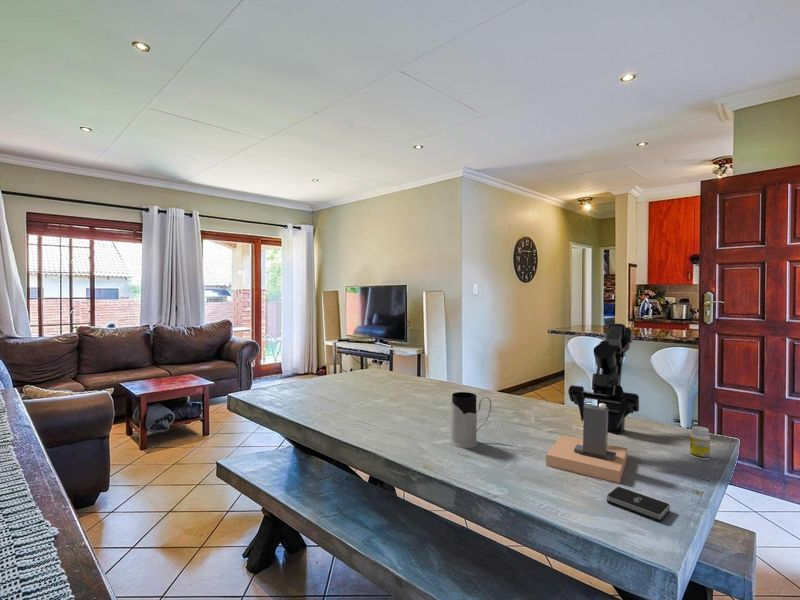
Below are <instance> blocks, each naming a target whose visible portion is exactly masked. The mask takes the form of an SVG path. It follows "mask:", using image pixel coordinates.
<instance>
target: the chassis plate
mask: <svg viewBox="0 0 800 600" xmlns="http://www.w3.org/2000/svg"><path fill="white" fill-rule="evenodd" d="M576 445H582V446H583V438H577V437H572V436H567V435H563V434H562V435H560V437H558V439H557V440H556V441H555V442H554V444H553V445H552V447H551V448H550V449H549V451H548V452H547V453H546V455H545V466H546V467H547V466H548V467H551V468H555V469H556V468H557V469H559V470H563V471H568V472H571V473H572V472H573V473H576V474H580V475H585V476H589V477H593V478H595V479H596V478H597V479H600V480H606V481H609V482H613V483H616V484H617V483H618V484H620V483H621V480H622V477H623V474H624V471H625V467H626V464H627V461H628V448H627V447H623V446H617V445H612V444H608V443H607V451H611V452H616V457H615V460H610V459H607V460H602V459H598V458H593V457H588V456H584V455H583V454H582V453H577V452H574V448H575V447H576Z"/></svg>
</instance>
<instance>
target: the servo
mask: <svg viewBox="0 0 800 600" xmlns="http://www.w3.org/2000/svg"><path fill="white" fill-rule="evenodd" d="M582 428H583V429H582V430H583V431H582V433H583V434H582V436H583V437H582V439H583V446H582V445H576V447H575V448H574V452H577V453H582V454H583V455H584V456H588V457H593V458H598V459H602V460H607V459H610V460H615V457H616V452H611V451H607V444H608V436H609V434H608V433H609V432H608V407H606V404H604V403H599V406H597V405H595V404H587V403H586V405H585V407H584V419H583V427H582Z"/></svg>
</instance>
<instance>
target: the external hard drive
mask: <svg viewBox="0 0 800 600" xmlns="http://www.w3.org/2000/svg"><path fill="white" fill-rule="evenodd" d="M606 503H607V504H609V505H611V506H614V507H616V508H620V509H622V510H625V511H627V512H629V513H632V514H635V515H637V516H641V517H643V518H646V519H649V520H651V521H654V522H656V523H661V522H662V521H663V519H664V518H666V516H667V515H669V513H670V511H671V510H670V509H671V504H670V503H668V502H666V501H663V500H660V499H656V498H653V497H650V496H647V495H645V494H642V493H639V492H636V491H633V490H630V489H627V488H624V487H623V486H622V487H621V486H616V487H615V488H613V489H612V490H611V491H609V493H608V494H606Z"/></svg>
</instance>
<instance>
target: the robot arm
mask: <svg viewBox="0 0 800 600" xmlns="http://www.w3.org/2000/svg"><path fill="white" fill-rule="evenodd" d="M632 331H633V330H632V329H630V328H628V327H627V326H626V324H623V323H614V322H612V323H608V327H606V328H605V339H604V340H601V341H600V342H599V344H597V345H596V346H595V347H593V357H594V361H595V366H596V372H595V373H592V381H591V390H592V391H585V389H584V386H580V385H575V384H574V385H573V384H572V385H570V386H569V387H568V392H567V393H568V396H569V397H568V398H569V400H570V402H573V403H574V405H577V406H578V409H579V410H578V411H579V414H580V420H581V421H582V422H584V407H585V406H586V405H585V400H586V399H588V400H596V406H599V403H604V404H606V407H608V433H612V434H615V435H618V434H621V433H622V432H624V431H625V423H626V422H625V420H626V419H625V418H627V416H629V414H633V413H634V412H635V413H636V412H637V413H638V412H639V411H640V396H639V395H638V394H637V393H634V392H626V391H624V389H623V387H622V385H621V381H622V373H623V365H624V357H626V352H627V351H628V350H629V349H630V346H631V344H632V343H633V332H632Z"/></svg>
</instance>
